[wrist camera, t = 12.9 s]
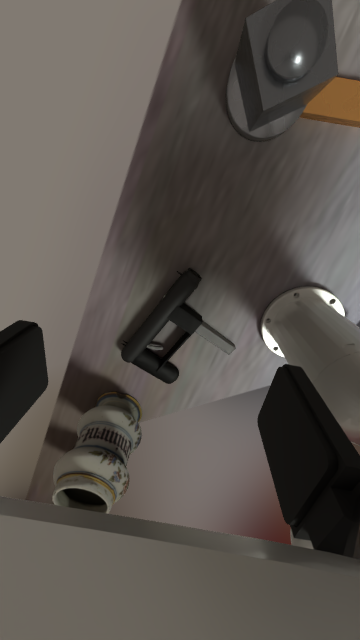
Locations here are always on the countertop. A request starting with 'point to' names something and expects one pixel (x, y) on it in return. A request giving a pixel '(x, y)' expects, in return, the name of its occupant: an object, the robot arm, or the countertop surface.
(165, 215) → the countertop surface
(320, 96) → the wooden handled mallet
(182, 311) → the door handle
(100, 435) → the apothecary jar
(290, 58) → the socket
